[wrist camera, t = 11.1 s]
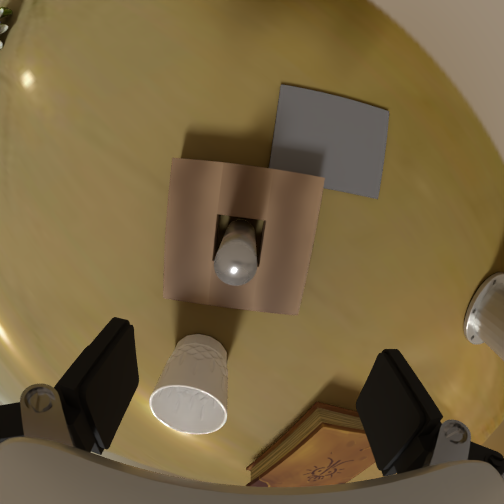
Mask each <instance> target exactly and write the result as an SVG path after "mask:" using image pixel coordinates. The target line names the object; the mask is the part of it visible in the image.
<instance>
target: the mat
mask: <svg viewBox="0 0 504 504" xmlns="http://www.w3.org/2000/svg"><path fill="white" fill-rule="evenodd" d="M388 120H389V111H386V110H383V109H380V108H377V107H374V106H371V105H368V104H364V103H361V102H358V101H354V100H350V99H347V98H343V97H339V96H335V95H331V94H327V93H323V92H318V91H314V90H309V89H304V88H299V87H294V86H288V85H282V84H281V87H280V94H279V101H278V108H277V115H276V122H275V129H274V136H273V143H272V150H271V157H270V164H269V168H270V169H277V170H283V171H289V172H295V173H301V174H307V175H313V176H318V177H323V178H325V180H324V187H323V188H326V189H332V190H337V191H342V192H347V193H352V194H357V195H361V196H366V197H370V198H375V199H378V195H379V190H380V184H381V177H382V171H383V164H384V156H385V148H386V140H387V130H388Z"/></svg>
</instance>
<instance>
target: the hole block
mask: <svg viewBox="0 0 504 504" xmlns="http://www.w3.org/2000/svg"><path fill="white" fill-rule="evenodd" d="M324 180H325V178H323V177H318V176H313V175H307V174H301V173H295V172H289V171H283V170H277V169H270V168H263V167H256V166H249V165H241V164H233V163H224V162H215V161H205V160H194V159H182V158H172V166H171V175H170V185H169V195H168V206H167V219H166V235H165V254H164V286H163V298H166V299H172V300H178V301H185V302H191V303H198V304H205V305H212V306H219V307H227V308H234V309H242V310H251V311H259V312H268V313H278V314H288V315H298V313H299V309H300V304H301V300H302V296H303V291H304V287H305V282H306V277H307V273H308V268H309V263H310V258H311V253H312V248H313V243H314V238H315V232H316V227H317V222H318V216H319V210H320V205H321V199H322V193H323V187H324ZM220 215H228V216H235V217H243V218H251V219H258V220H264V223H263V230H262V236H261V243H260V250H259V256H258V257H257V271H256V273H255V275H254V277H253V278H252V279H251V280H250V281H249V282H247V283H246V284H243V285H239V286H233V285H229V284H226V283H224V282H223V281H221V280H220V279H219V278H218V276H217V275H216V273H215V270H214V260H215V257H216V254H217V252H216V246H217V237H218V228H219V219H220Z"/></svg>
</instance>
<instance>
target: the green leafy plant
mask: <svg viewBox="0 0 504 504" xmlns="http://www.w3.org/2000/svg"><path fill="white" fill-rule="evenodd" d="M11 14H12V10H10V9H9V10H8V8H5V7H1V8H0V18H2V17H5V16H8V15H11ZM7 29H8V26H7V25H6V24H1V22H0V34H2V33H4V32H5V31H6V30H7ZM2 48H3V43H2V41H1V40H0V49H2Z"/></svg>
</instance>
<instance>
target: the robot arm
mask: <svg viewBox="0 0 504 504" xmlns="http://www.w3.org/2000/svg"><path fill="white" fill-rule="evenodd" d="M464 334H465V336H466V338H467V339H468V340H469V341H470V342H471V343H472V344H481V343H484V342H485V343H486V344H487V345H488V346H489V347H490V348H491V349H492V350H493V351H494V352H495V353H496V354H497V355H498V356H499V357H500V358H501V359H502V360H503V361H504V273H501V272H499V273H495V274H493V275H491V276H490V277H489V278H488V279H486V280H485V281H484V282H483V283H482V285H481V286H480V287H479V289H478V290H477V292H476V293H475V295H474V296H473V298H472V300H471V302H470V305H469V307H468V309H467V313H466V316H465V321H464ZM138 383H139V375H138V367H137V359H136V349H135V338H134V327H133V325H130V323H129V321H128V320H125V319H121V318H116V317H114V318H112V319H111V321H110V322H109V323H108V324H107V325H106V326H105V327H104V329H103V330H102V331H101V332H100V333H99V335H98V336H97V337H96V338H95V339H94V341H93V342H92V343H91V344H90V345H89V346H87V347H86V348H85V349H84V350H83V352H82V353H81V354H80V355H79V357H78V358H77V359H76V360H75V361H74V363H73V364H72V365H71V366H70V368H69V369H68V370H67V371H66V373H65V374H64V375H63V376H62V378H61V379H60V380H59V382H58V383H57V384H56V385H55V387H54V388H53V387H51V386H50V385H46V384H34V385H31V386H29V387H28V388H26V389H25V390H24V391H23V393H22V395H21V397H20V402H18V403H12V404H6V405H0V504H504V458H503V456H502V455H501V454H500V453H498V452H496V451H494V450H491V449H489V448H486V447H483V446H481V445H478V444H476V443H473V442H471V441H470V440H471V434H470V431H469V429H468V428H467V427H466V425H464V424H463V423H462V422H459V421H457V420H447V421H445V422H444V423H443V424H442V423H441V422H440V420H441V419H442V418H443V416H442V414H441V412H440V411H439V409H438V408H437V406H436V405H435V403H434V401H433V400H432V398H431V397H430V395H429V394H428V392H427V391H426V389H425V388H424V386H423V385H422V383H421V382H420V380H419V379H418V377H417V376H416V374H415V373H414V371H413V370H412V368H411V367H410V366H409V364H408V363H407V361H406V360H405V358H404V357H403V355H402V354H401V353H400V351H399V350H398V349H384V350H383V351H382V353H379V354H378V356H377V358H376V361H375V363H374V365H373V368H372V370H371V372H370V374H369V376H368V378H367V381H366V383H365V385H364V387H363V389H362V391H361V393H360V395H359V397H358V399H357V402H356V409H357V412H358V414H359V417H360V420H361V422H362V425H363V428H364V431H365V433H366V436H367V439H368V442H369V445H370V447H371V450H372V453H373V456H374V459H375V462H376V465H377V468H378V469H379V470H381V471H382V474H383V477H381V478H376V479H371V480H365V481H358V482H352V483H344V484H335V485H324V486H310V487H251V486H237V485H226V484H217V483H209V482H202V481H196V480H190V479H184V478H179V477H174V476H169V475H164V474H160V473H156V472H152V471H148V470H145V469H140V468H137V467H133V466H130V465H126V464H123V463H120V462H117V461H113V460H110V459H107V458H104V457H102V456H99V455H96V454H93V453H90V452H91V451H92V452H94V453H97V454H100V455H101V454H102V452H103V450H104V449H108V448H109V447H110V445H111V442H112V440H113V438H114V436H115V433H116V431H117V429H118V427H119V425H120V423H121V420H122V418H123V416H124V414H125V412H126V410H127V408H128V405H129V403H130V401H131V399H132V397H133V395H134V393H135V391H136V389H137V386H138ZM396 473H397V474H396ZM393 474H395V475H393ZM389 475H391V476H389ZM384 476H386V477H384Z"/></svg>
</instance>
